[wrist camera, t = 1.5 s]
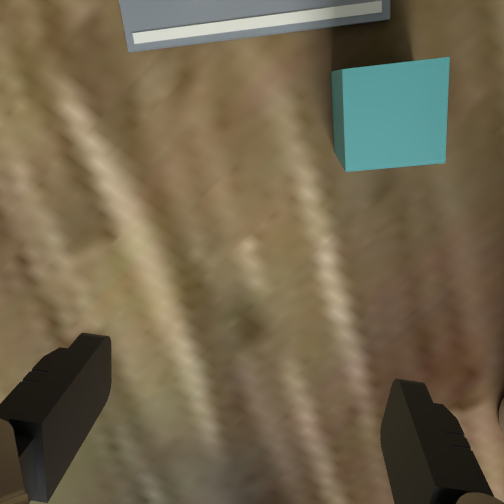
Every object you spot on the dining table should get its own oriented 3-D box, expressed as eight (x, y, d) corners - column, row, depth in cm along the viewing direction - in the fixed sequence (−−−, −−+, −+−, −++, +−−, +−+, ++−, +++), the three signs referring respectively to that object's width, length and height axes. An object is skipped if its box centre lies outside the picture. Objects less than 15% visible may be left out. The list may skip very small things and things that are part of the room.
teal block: (413, 62, 28) (449, 57, 21) (411, 144, 30) (445, 162, 23) (330, 71, 28) (342, 69, 22) (334, 151, 30) (345, 171, 24)
